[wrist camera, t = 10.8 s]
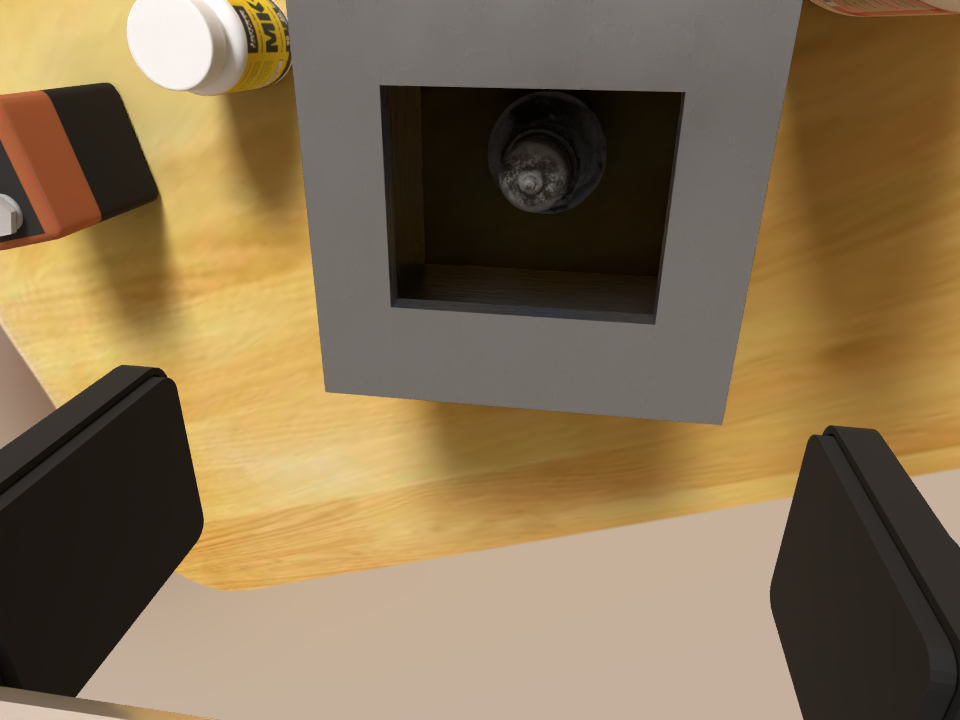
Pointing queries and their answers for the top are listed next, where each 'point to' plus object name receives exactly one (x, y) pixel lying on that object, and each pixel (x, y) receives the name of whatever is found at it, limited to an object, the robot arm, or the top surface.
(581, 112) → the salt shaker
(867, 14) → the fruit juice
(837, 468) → the robot arm
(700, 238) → the grey hollow block
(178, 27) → the supplement bottle
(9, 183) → the battery
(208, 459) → the top surface
